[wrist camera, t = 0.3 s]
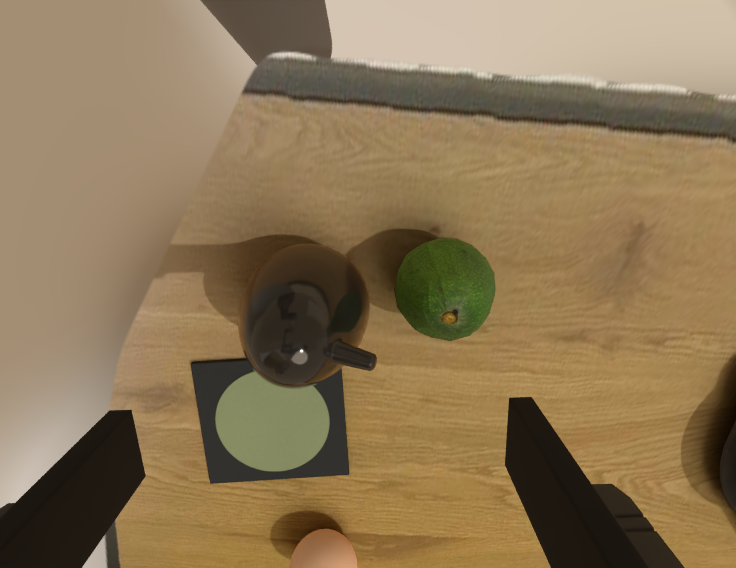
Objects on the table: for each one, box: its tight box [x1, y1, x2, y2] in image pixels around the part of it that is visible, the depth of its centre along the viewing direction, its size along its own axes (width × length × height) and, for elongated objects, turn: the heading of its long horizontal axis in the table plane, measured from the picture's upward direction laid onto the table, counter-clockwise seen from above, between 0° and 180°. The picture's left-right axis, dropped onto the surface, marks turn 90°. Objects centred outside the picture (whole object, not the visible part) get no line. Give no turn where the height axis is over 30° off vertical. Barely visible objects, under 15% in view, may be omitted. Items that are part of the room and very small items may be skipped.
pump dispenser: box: [238, 243, 377, 389], centre depth 32 cm, size 10×10×15 cm
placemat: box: [191, 359, 349, 484], centre depth 42 cm, size 13×14×1 cm
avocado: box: [394, 238, 495, 341], centre depth 34 cm, size 8×8×12 cm
